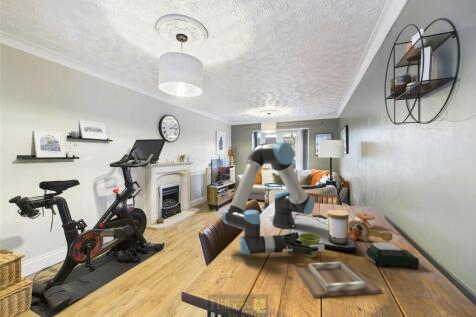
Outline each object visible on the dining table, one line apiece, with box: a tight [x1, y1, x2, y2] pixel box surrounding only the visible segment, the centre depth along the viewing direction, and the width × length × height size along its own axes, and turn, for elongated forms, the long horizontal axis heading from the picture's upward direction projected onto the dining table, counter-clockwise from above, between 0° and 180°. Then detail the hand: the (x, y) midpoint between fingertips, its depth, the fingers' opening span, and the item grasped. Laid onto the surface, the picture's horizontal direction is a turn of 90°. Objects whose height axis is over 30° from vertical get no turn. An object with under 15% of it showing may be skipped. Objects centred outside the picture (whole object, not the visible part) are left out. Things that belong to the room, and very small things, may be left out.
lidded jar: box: [354, 212, 375, 229], centre depth 128 cm, size 11×11×9 cm
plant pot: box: [299, 232, 321, 259], centre depth 94 cm, size 9×9×9 cm
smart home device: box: [311, 214, 328, 219], centre depth 143 cm, size 8×2×20 cm
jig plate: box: [295, 261, 383, 299], centre depth 74 cm, size 24×16×3 cm, turn 95°
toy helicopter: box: [347, 213, 394, 243], centre depth 106 cm, size 8×21×14 cm, turn 39°
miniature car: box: [365, 242, 421, 271], centre depth 85 cm, size 9×18×8 cm, turn 81°
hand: (317, 241), depth 94 cm, fingers open, 12 cm apart
